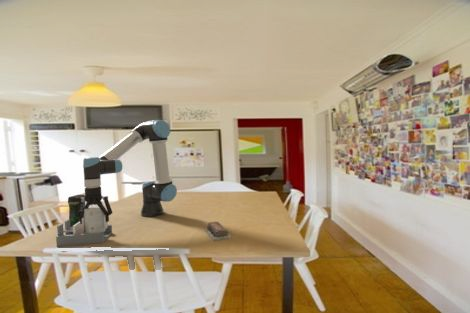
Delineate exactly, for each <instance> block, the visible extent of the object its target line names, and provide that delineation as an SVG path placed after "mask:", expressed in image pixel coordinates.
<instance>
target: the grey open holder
mask: <svg viewBox="0 0 470 313" xmlns="http://www.w3.org/2000/svg"><path fill="white" fill-rule="evenodd" d="M72 228H73V230H65V229H63V232H64V233H66V232H73V235H74V234H85V231H82V224H80V221H79V222H78V223H76V224H75V225H73V226H72Z"/></svg>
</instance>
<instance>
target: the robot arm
mask: <svg viewBox="0 0 470 313" xmlns="http://www.w3.org/2000/svg"><path fill="white" fill-rule="evenodd" d="M170 133H171V128H170V125H169V123H167V122H166V121H165V120H163V119H153V120H147V121H144V122H142V123H140V124H138V125H137V126H135V127H134V128H133V129H132V130H130V133H129V134H128V135H127V136H125V137H124V138H123V139H121V140H120V141H119V142H117V143H116V144H114V146H112V147H111V148H110V149H108V150H107V151H105V152H104V153H103V154H101V155H100V156H94V157H93V156H92V157H85V158H83V165H82V167H83V177H84V178H83V179H84V180H83V181H84V187H85V188H84V195H85V198H82V197H81V198H79V199H78V200H79V204H78V208H77V212H76V217H79V218H80V224H82V231H84V230H85V225H84V217H83V216H84V209H87V208H90V206H99V208H100V209H101V210H102V212H103V213H104V215H105V216H104V229H106V228H107V225H108V222H109V221H110V217H109V216H111V215H112V214H113V210H112V208H111V205H110V202H109V196H108V195H105V196H104V195H102V181H101V179H102V178H101V175H109V174H117V173H118V174H119V173H120V172H122V170H123V162H122V161H121V159H120V158H121V157H122V156H123V155H125V154H126V153H128V151H130V150H131V149H132V148H133V147H135V146H136V145H138V144H140V143H143V142H144V141H146V140H148V142H149V143H150V144H151V147H152V154H153V163H154V170H155V180H153V181H145V182H143V183H142V187H141V189H142V203H143V204H142V207H141V210H140V216H141V217H146V218H150V217H157V216H160V215H163V214H164V208H163V206H162V203H161V202H164V203H166V202H168V203H169V202H171V201H174V199H175V197H176V196H177V192H178V188H177V187H176V185H175V184H173V179H171V178H170V170H169V169H170V168H169V163H168V152H167V145H166V144H167V141H168V139H169V138H168V137H169V136H170ZM84 200H85V201H86V202H85V207H84V209H83V211H82V213H81V209H82V205H83V201H84ZM102 200H103V202H104V204H103V202H102ZM104 205H105V206H104ZM80 213H81V214H80Z"/></svg>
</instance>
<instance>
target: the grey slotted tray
mask: <svg viewBox="0 0 470 313" xmlns="http://www.w3.org/2000/svg"><path fill="white" fill-rule="evenodd" d="M56 226H57V227H56V228H57V236H55V241H56V247H63V246H64V247H66V246H77V245H78V246H79V245H90V244H100V243H102V244H103V243H105V242H106V240H107V239H109V238H110V236H111V235H112V234H113V225H112V224H107V228H106V229H105V231H104V232H100V233H87V234H86V233H85V234H74V235H73V232H66V233H65V234H64V232H63V230H73V227H72V226H70V219H69V218H68V219H66V220H65V221H64V223H60V224H58V225H56ZM84 231H85V230H84Z"/></svg>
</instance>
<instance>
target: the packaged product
mask: <svg viewBox="0 0 470 313" xmlns="http://www.w3.org/2000/svg"><path fill="white" fill-rule="evenodd" d="M204 231H205V232H206V234H207V236H208V237H209V238H210V239H211V240H212V241H221V240H227V239H232V237H233V236H232V235H231V234H229V231H228V229H226V227H225V226H223V224H221V223H220V222H219V221H211V222H208V223H207V227H205V228H204Z"/></svg>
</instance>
